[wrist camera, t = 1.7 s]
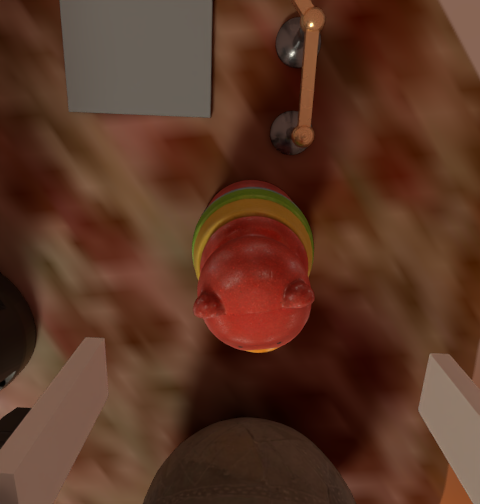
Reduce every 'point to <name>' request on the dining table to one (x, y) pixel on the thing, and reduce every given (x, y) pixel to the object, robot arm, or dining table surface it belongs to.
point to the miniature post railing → (301, 55)
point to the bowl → (248, 468)
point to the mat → (138, 56)
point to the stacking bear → (253, 267)
